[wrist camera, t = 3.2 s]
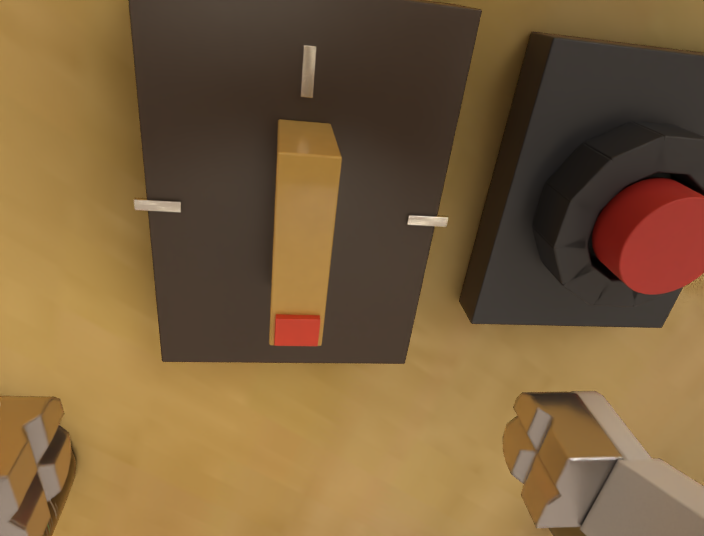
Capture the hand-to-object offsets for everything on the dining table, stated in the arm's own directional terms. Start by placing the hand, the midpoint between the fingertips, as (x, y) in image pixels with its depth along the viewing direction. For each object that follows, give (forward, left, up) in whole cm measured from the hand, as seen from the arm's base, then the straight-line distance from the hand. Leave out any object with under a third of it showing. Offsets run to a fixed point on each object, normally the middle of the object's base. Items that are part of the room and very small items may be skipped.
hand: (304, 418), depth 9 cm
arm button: (-1, +12, -8) cm, 15 cm away
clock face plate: (0, 0, -11) cm, 11 cm away
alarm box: (-1, +12, -11) cm, 17 cm away
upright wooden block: (0, 0, -9) cm, 9 cm away
